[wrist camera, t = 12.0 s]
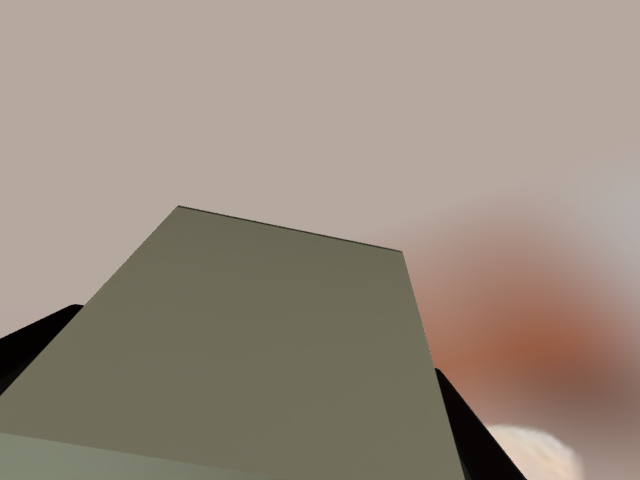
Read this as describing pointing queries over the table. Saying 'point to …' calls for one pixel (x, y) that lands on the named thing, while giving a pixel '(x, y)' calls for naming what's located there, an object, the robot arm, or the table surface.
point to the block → (236, 366)
